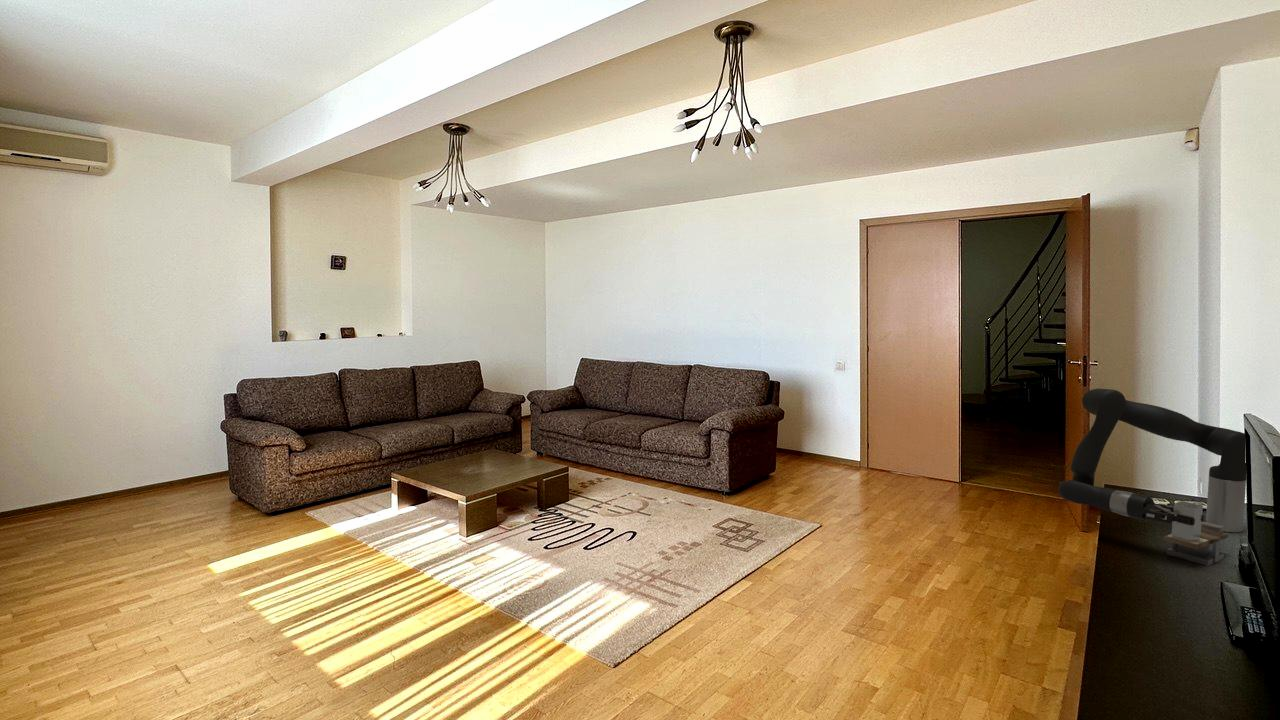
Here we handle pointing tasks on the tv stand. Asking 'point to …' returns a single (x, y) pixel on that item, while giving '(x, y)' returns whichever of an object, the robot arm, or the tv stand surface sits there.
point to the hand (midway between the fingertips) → (1198, 520)
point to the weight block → (1186, 530)
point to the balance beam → (1207, 536)
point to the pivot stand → (1198, 553)
